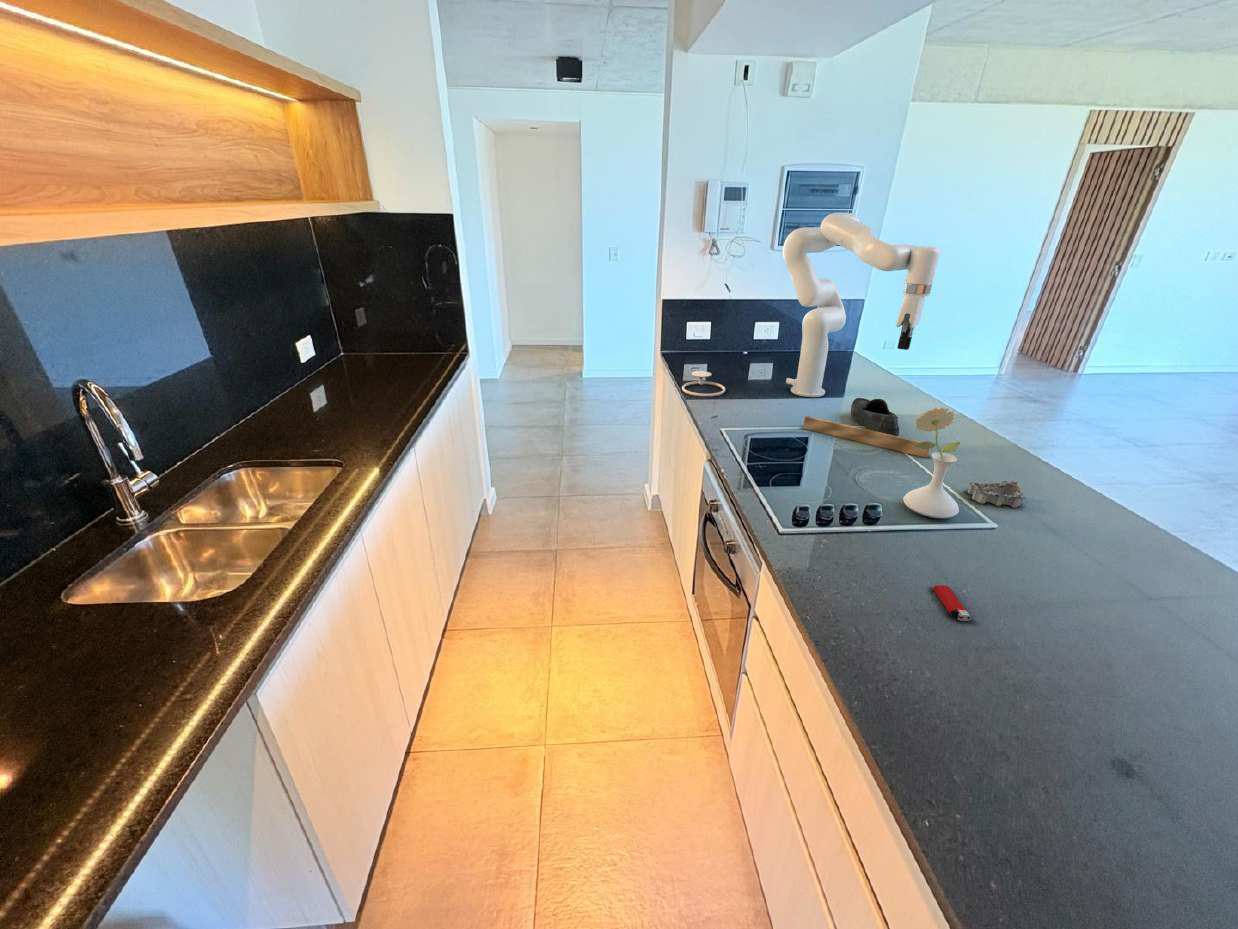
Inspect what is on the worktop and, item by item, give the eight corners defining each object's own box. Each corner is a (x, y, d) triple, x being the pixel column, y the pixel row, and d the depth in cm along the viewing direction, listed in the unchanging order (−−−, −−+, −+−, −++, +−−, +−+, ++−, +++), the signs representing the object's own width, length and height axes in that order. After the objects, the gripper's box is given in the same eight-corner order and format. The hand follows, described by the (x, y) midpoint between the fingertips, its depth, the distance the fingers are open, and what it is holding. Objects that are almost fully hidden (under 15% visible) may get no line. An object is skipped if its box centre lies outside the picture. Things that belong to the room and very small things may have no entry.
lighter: (950, 585, 96) (972, 615, 89) (948, 591, 97) (970, 621, 90) (934, 584, 97) (954, 614, 89) (932, 590, 97) (952, 620, 90)
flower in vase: (954, 504, 126) (985, 404, 115) (959, 527, 116) (994, 421, 106) (893, 493, 131) (918, 396, 120) (894, 515, 121) (920, 412, 111)
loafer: (869, 412, 183) (876, 384, 179) (910, 445, 157) (918, 413, 153) (840, 412, 184) (845, 384, 179) (875, 445, 157) (882, 413, 153)
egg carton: (1014, 496, 130) (1020, 481, 128) (1024, 510, 123) (1030, 495, 122) (965, 488, 133) (969, 474, 131) (972, 502, 127) (977, 487, 125)
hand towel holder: (684, 386, 197) (679, 371, 215) (683, 397, 199) (678, 381, 217) (729, 385, 197) (720, 370, 215) (728, 397, 199) (720, 381, 217)
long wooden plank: (803, 428, 170) (804, 416, 168) (804, 427, 171) (806, 415, 169) (926, 457, 150) (930, 444, 148) (927, 456, 151) (931, 443, 149)
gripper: (909, 286, 170) (896, 343, 178) (897, 291, 160) (884, 351, 168) (935, 288, 166) (921, 346, 174) (925, 293, 155) (910, 354, 163)
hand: (903, 348), depth 171 cm, fingers closed
